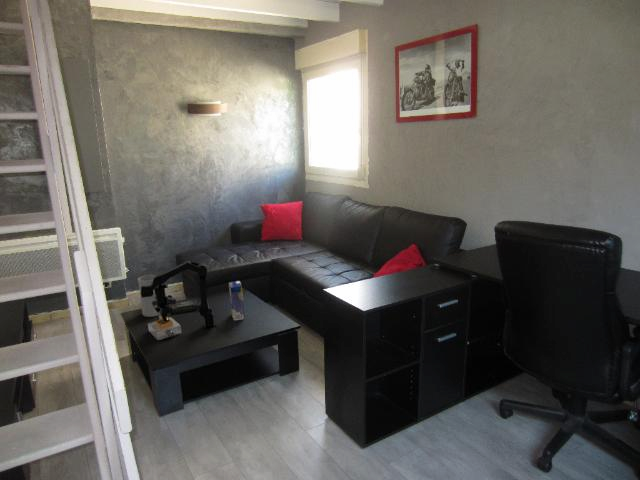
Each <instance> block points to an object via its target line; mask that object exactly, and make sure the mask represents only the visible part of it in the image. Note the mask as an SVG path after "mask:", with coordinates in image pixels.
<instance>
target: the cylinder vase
mask: <svg viewBox="0 0 640 480" xmlns="http://www.w3.org/2000/svg"><path fill="white" fill-rule="evenodd" d="M155 275H156V274H145V275H142V276H139V277H138V278H137V281H138V288H139V289H138V290H139V297H140V303H141V311H142V316H143V317H146V318H153V317H157V316H159V315H158V313H157V311H156V310H155V309H154V308H155V306H154V307H153V306H152V302H153V301H155V300H156V299H155V289H154V295H153V296H152V297H145V298H142V297H141V286H149V285H151V284H152V282H153V279H154V276H155Z"/></svg>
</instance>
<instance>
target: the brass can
mask: <svg viewBox="0 0 640 480" xmlns="http://www.w3.org/2000/svg"><path fill="white" fill-rule="evenodd" d="M159 312H160V311H159ZM158 318H159V319H158V320H160V323H161V324H164V323H167V322H168V318H169V317H167V319H166V321H165V322H164V320H163V318H162V317H161V315H160V313H159V315H158Z"/></svg>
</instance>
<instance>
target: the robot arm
mask: <svg viewBox="0 0 640 480" xmlns="http://www.w3.org/2000/svg"><path fill="white" fill-rule="evenodd" d="M187 270H189V271H191V272H194V273H197V275H198V280H199V291H200V301H199V302H198V307H199V308H198V309H199V310H198V313H199V315H200V316H201V317H203V323H204V324H202V326H203V328H205V329H206V330H208V329H211V328H214V327H217V324H216V323H215V319H214V316H215V315H214V310H213V309H212V308H210V306H209V303H208V301H209V300H208V293H207V275H208V266H207V263H204V262H200V263H199V262H195V261H190V260H185V262H182V263H181V264H179V265H177V266H175V267H173V268H171V269H170V270H166V271H163V272H159V273H156V274H154V275H155V276H154V279H153V282H152V284H151V285H149V286H141V297H142V298H145V297H152V296H153V295H154V289H155V299H156V300H155V301H153V302H152V306H153V307H154V306H155V308H154V309H155V310H156V311H157V313H158V315H157V316H159V313H160V315H161V317H162V318H163V320H164V322H165V321H166V319H167V318H168V315H169V314H170V313H174V311H173V307H171V306H170V305H172V304H173V305H175V304H176V303H177V299H176V298H175V297H173V295H172V294H168V295H167V294H166V289H168V288H169V284H166V282H167V281H168V280H170V279H172V278H173V277H175V276H176V275H179V274H180V273H183V272H185V271H187ZM173 305H172V306H173ZM159 311H160V312H159Z"/></svg>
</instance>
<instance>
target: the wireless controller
mask: <svg viewBox="0 0 640 480" xmlns="http://www.w3.org/2000/svg"><path fill="white" fill-rule="evenodd" d="M198 303H199V302H198V300H197V299H194V300H188V301H180V302H176V304H175V305H173V304H171V305H172V309H173V314H174V315H177V314H181V313H182V312H183V313H189V312H193V311H194V310H195V311H199V309H198V308H199V307H198ZM188 311H189V312H188ZM176 313H177V314H176ZM183 313H182V314H183Z"/></svg>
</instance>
